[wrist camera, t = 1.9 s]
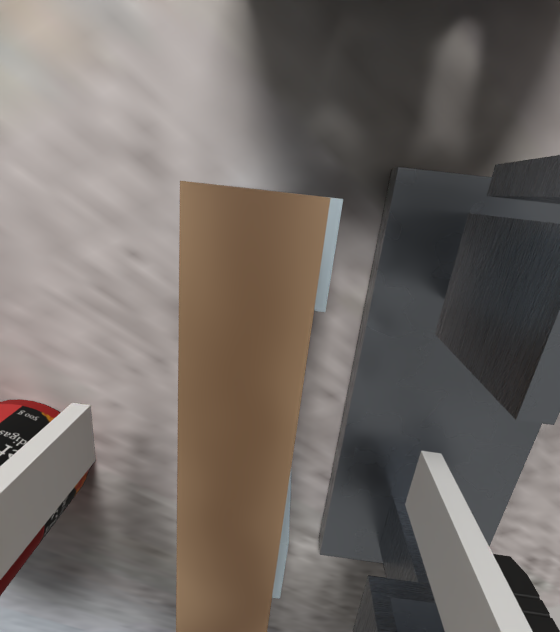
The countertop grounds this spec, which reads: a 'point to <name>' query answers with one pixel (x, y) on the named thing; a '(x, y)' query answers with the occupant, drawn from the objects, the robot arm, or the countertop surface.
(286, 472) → the rail
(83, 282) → the countertop surface
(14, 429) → the canned food
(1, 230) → the countertop surface
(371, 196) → the countertop surface
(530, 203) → the bracket
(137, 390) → the countertop surface
